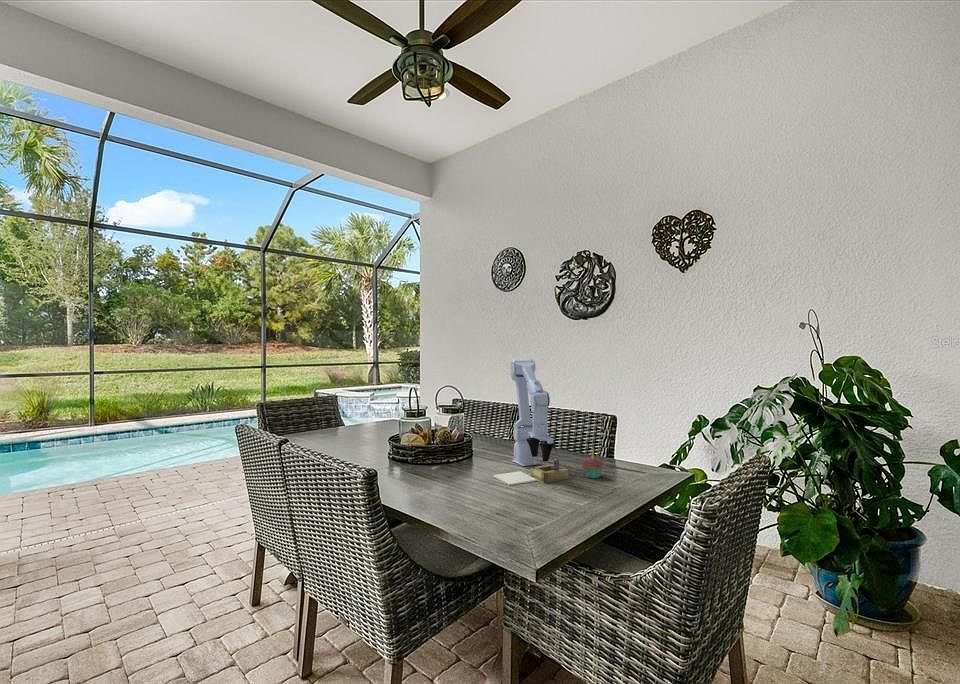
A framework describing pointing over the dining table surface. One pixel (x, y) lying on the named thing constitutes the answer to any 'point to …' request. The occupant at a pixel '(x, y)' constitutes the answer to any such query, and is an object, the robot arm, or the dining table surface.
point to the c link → (548, 473)
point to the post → (556, 464)
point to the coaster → (514, 478)
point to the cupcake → (592, 466)
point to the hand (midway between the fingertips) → (540, 458)
